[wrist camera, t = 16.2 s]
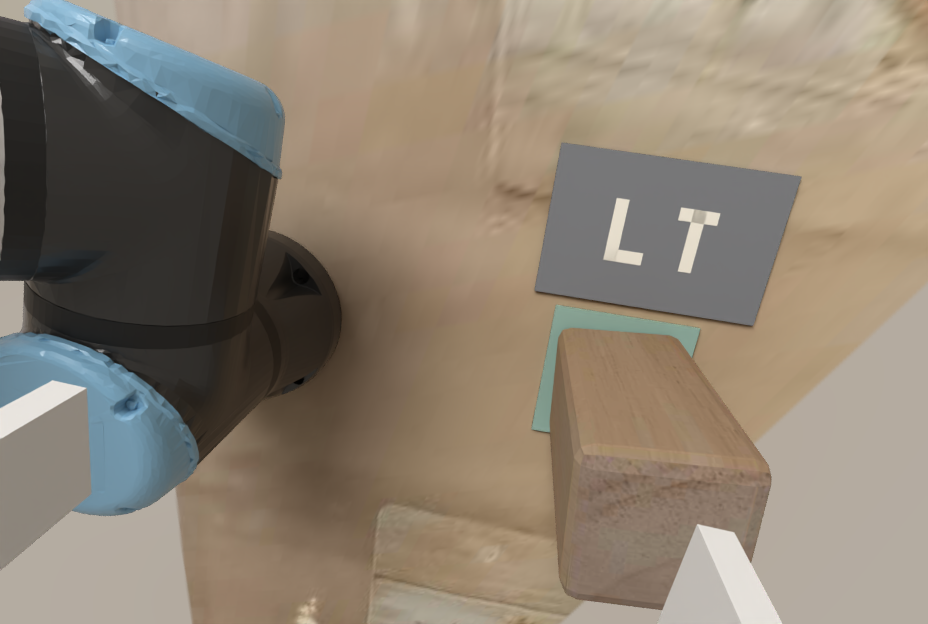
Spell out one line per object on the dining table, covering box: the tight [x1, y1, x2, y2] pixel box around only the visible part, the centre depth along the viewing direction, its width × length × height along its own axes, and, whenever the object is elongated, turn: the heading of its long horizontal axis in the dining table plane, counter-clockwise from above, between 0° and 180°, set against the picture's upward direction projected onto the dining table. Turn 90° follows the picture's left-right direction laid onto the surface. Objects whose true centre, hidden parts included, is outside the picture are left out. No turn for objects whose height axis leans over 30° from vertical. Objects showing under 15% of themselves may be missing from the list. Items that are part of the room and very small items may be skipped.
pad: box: [532, 305, 700, 432], centre depth 48 cm, size 12×12×1 cm
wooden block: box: [549, 328, 771, 610], centre depth 38 cm, size 10×10×20 cm
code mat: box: [535, 143, 801, 326], centre depth 44 cm, size 18×12×1 cm, turn 82°
